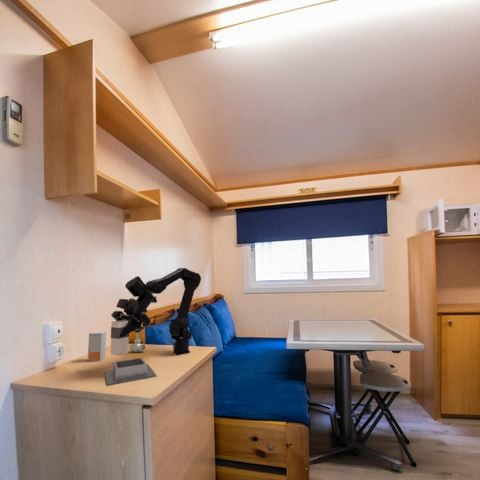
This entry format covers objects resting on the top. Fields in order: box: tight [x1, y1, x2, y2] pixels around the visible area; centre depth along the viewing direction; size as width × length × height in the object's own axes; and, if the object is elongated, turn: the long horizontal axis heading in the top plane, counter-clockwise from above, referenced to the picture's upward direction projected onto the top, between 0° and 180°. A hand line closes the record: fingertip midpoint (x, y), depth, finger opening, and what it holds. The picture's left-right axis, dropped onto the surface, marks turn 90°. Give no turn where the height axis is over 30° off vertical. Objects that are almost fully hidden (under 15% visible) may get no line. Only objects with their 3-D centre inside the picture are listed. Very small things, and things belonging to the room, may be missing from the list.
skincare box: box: [87, 331, 107, 362], centre depth 128 cm, size 6×4×12 cm
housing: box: [104, 357, 157, 386], centre depth 105 cm, size 16×16×4 cm
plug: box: [110, 320, 130, 356], centre depth 110 cm, size 5×5×12 cm
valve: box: [128, 325, 146, 353], centre depth 140 cm, size 7×7×12 cm
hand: (116, 336), depth 109 cm, fingers closed on plug, 5 cm apart
